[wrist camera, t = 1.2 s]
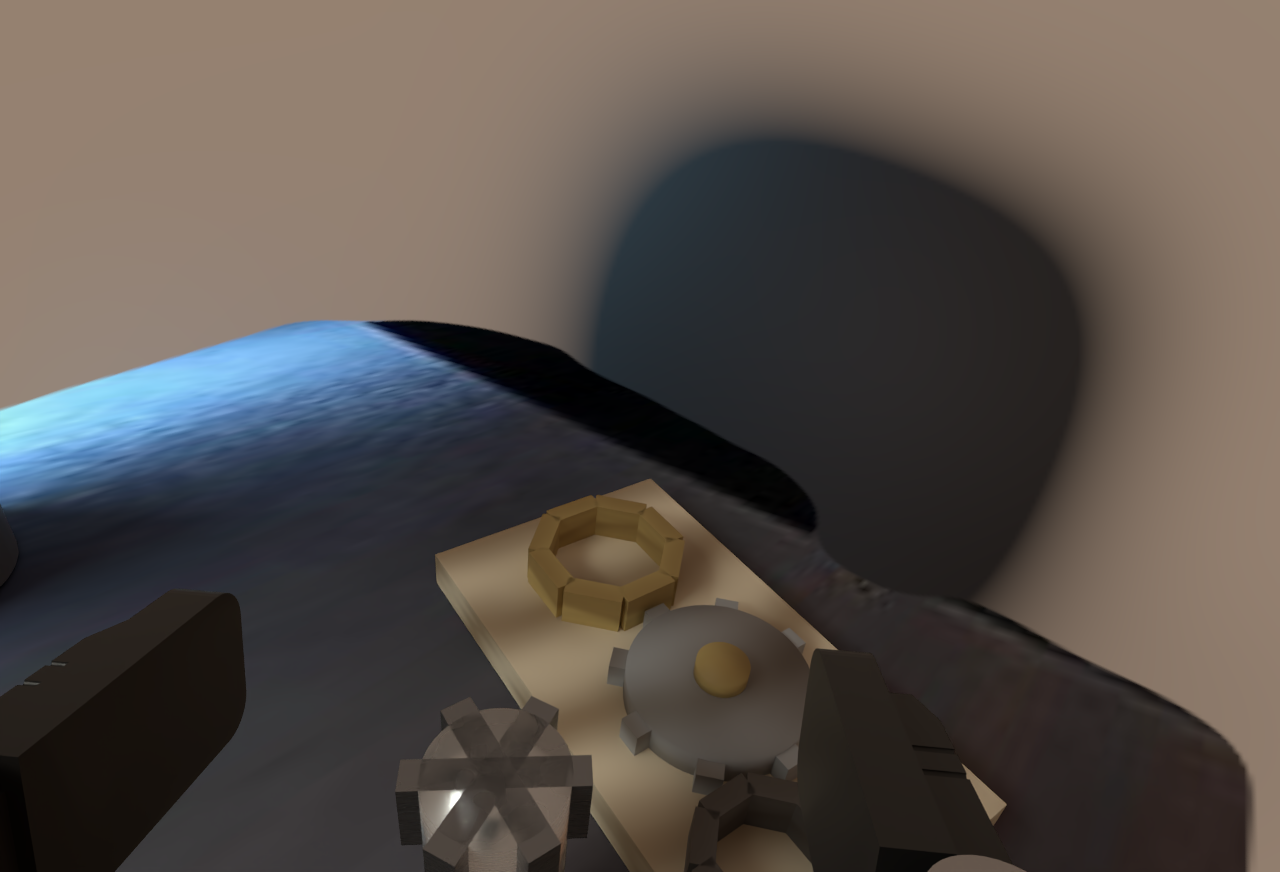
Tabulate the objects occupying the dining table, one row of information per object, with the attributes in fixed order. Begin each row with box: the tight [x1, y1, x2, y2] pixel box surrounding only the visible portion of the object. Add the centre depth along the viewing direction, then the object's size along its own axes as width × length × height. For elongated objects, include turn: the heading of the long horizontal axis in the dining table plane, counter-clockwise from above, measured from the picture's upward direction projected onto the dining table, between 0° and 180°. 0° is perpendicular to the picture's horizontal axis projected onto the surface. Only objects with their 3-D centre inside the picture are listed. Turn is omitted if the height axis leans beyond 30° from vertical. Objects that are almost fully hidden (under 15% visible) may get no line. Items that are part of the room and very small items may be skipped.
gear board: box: [435, 479, 1007, 872], centre depth 37 cm, size 25×14×4 cm, turn 36°
